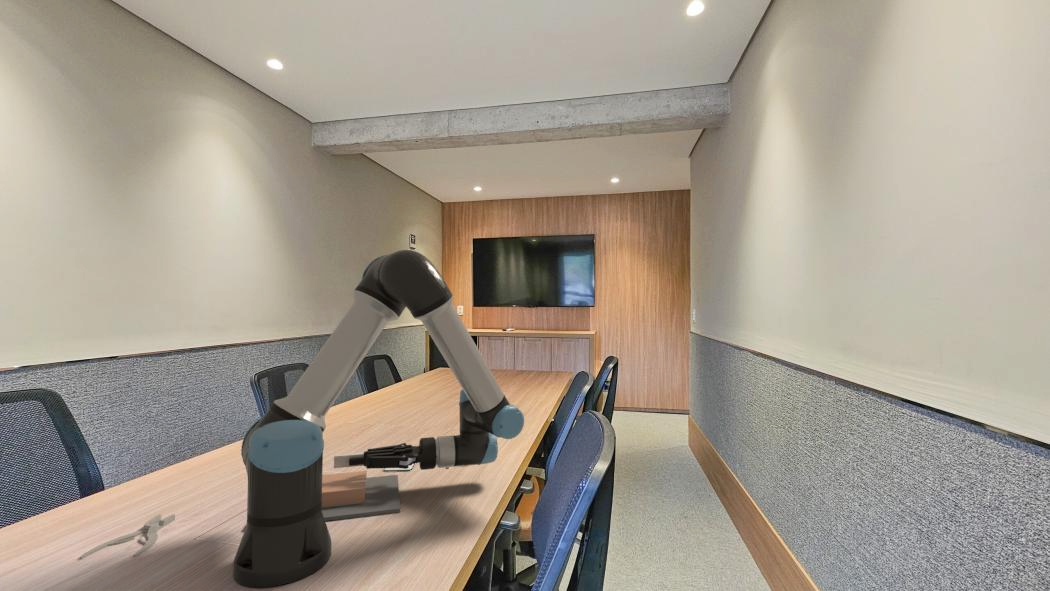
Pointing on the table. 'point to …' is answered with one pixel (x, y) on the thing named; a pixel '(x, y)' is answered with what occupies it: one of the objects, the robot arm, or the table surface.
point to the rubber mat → (370, 500)
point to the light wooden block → (343, 488)
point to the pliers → (149, 527)
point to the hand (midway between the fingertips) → (334, 461)
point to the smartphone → (400, 468)
